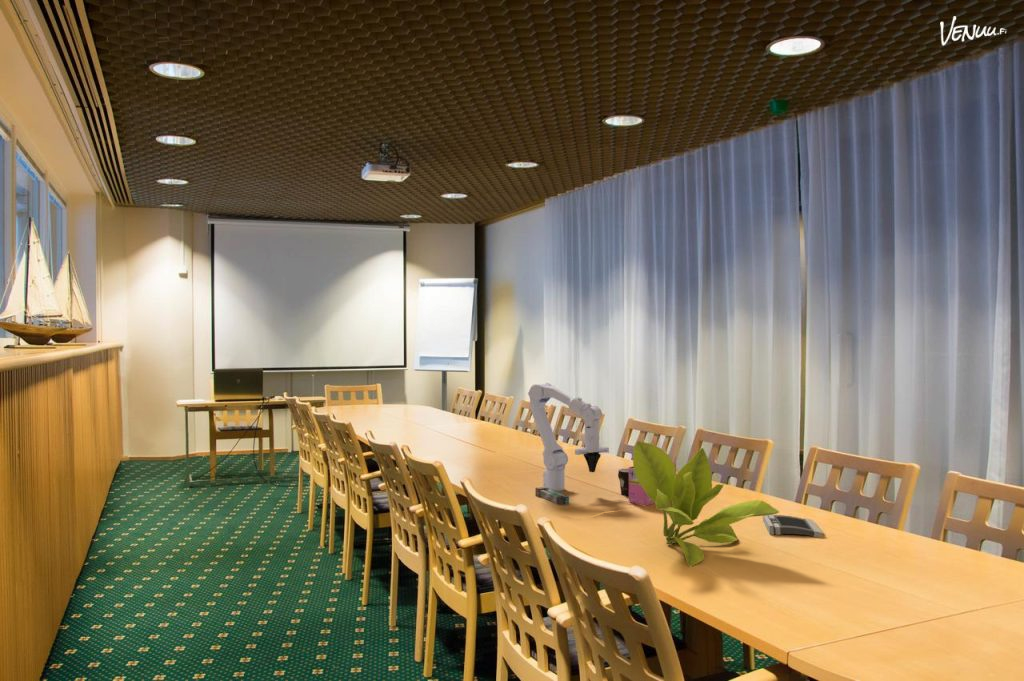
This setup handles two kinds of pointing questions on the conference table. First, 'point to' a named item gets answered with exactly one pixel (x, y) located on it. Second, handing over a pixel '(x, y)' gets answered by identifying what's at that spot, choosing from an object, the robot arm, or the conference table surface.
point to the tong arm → (566, 498)
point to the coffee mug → (624, 481)
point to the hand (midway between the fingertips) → (592, 471)
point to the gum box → (639, 489)
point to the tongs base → (548, 495)
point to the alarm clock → (791, 525)
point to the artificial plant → (689, 498)
